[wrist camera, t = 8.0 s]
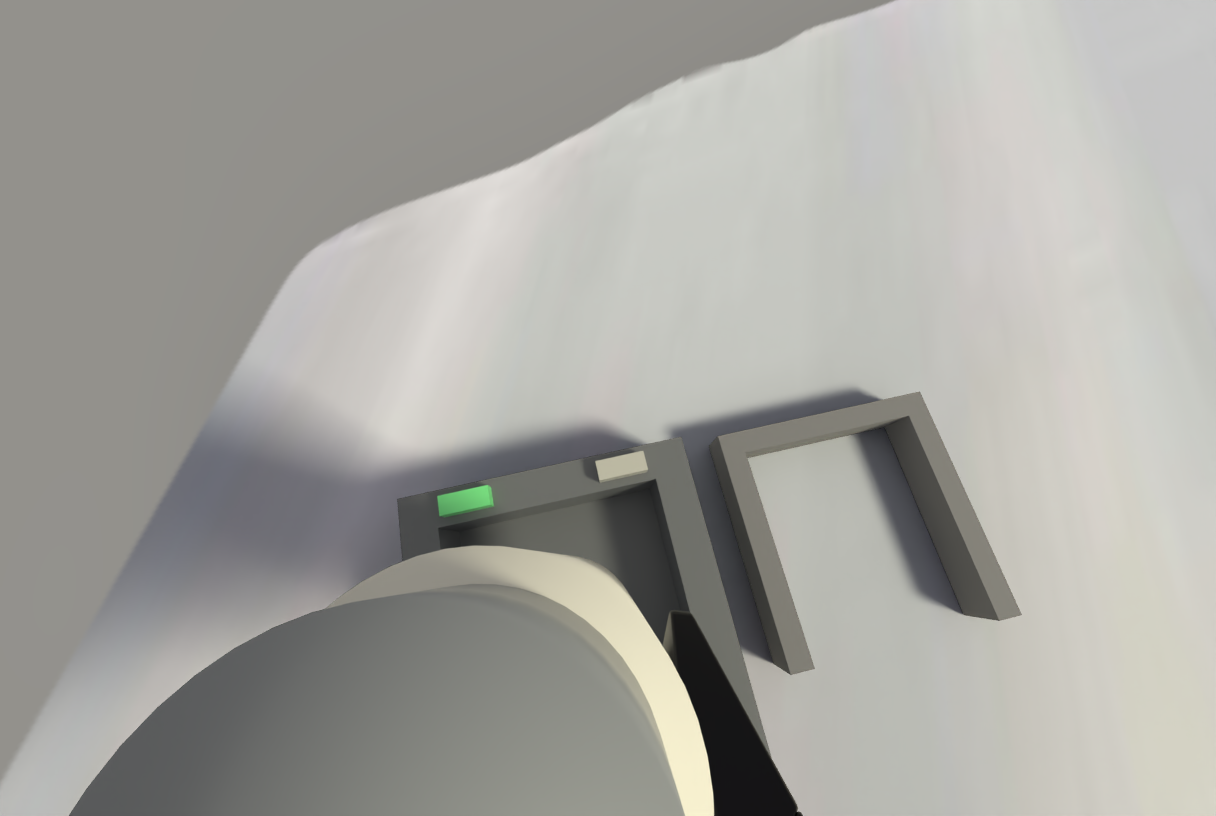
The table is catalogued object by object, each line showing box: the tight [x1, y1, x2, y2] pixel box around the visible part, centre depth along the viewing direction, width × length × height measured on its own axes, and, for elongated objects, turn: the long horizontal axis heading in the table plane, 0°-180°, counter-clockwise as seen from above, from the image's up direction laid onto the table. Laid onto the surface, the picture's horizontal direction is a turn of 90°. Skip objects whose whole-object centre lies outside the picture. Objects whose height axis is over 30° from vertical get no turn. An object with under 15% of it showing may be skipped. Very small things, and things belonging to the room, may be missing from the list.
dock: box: [397, 437, 771, 757], centre depth 19 cm, size 12×12×4 cm
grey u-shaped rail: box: [709, 392, 1022, 675], centre depth 21 cm, size 10×10×2 cm
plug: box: [69, 546, 714, 816], centre depth 9 cm, size 5×5×13 cm
